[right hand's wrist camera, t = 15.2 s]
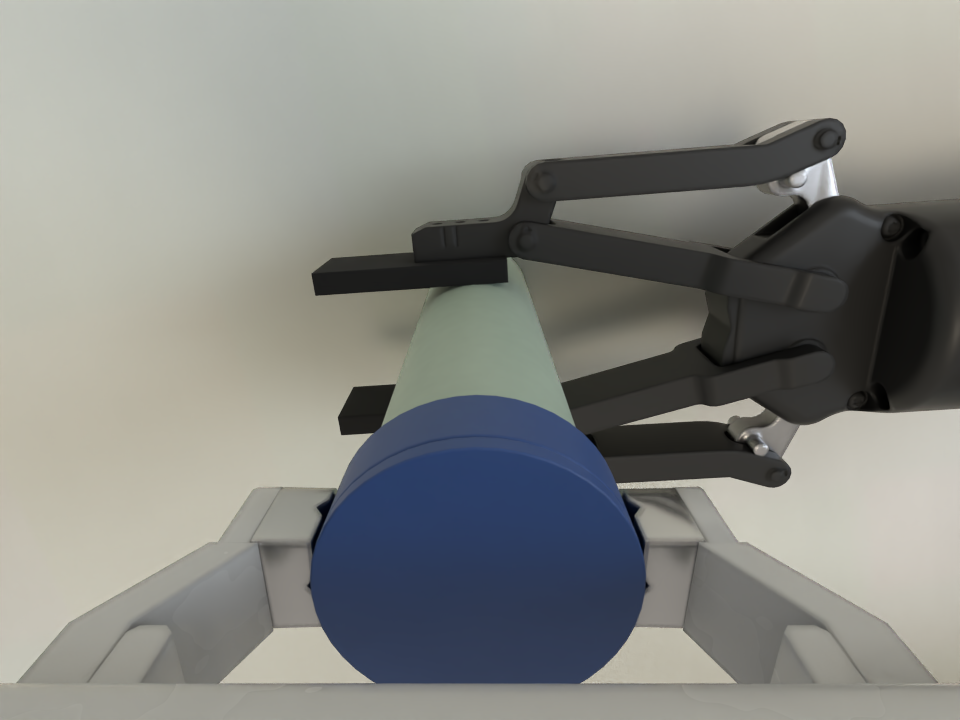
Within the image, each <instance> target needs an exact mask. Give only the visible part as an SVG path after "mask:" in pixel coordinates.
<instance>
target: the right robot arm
mask: <svg viewBox="0 0 960 720" xmlns="http://www.w3.org/2000/svg"><path fill="white" fill-rule="evenodd" d="M337 491H338V490H337V489H336V488H299V487H285V488H283V487H258V488H256V489H254V490H253V491H252V492H251V493H250V495H249V496H248V498H247V499H246V501H245V502H244V504H243V505H242V507H241V508H240V510H239V511H238V513H237V514H236V516H235V517H234V519H233V520H232V522H231V523H230V525H229V526H228V528H227V529H226V531H225V532H224V534H223V535H222V537H221V538H220V540H219V541H218V542H213V543H208V544H206V545H204V546H202V547H201V548H199V549H197V550H195V551H194V552H192V553H190V554H188V555H187V556H185V557H183V558H181V559H180V560H178V561H176V562H174V563H173V564H171V565H169V566H167V567H166V568H164V569H162V570H160V571H159V572H157V573H155V574H153V575H152V576H150V577H148V578H146V579H145V580H143V581H141V582H139V583H138V584H136V585H134V586H132V587H131V588H129V589H127V590H125V591H124V592H122V593H120V594H118V595H117V596H115V597H113V598H111V599H110V600H108V601H106V602H104V603H103V604H101V605H99V606H97V607H95V608H94V609H92V610H90V611H88V612H87V613H85V614H83V615H81V616H80V617H78V618H76V619H74V620H73V621H71V622H69V623H68V624H67V625H66V627H65V628H64V629H63V630H62V631H61V632H60V633H59V635H58V636H57V637H56V638H55V639H54V640H53V641H52V643H51V644H50V645H49V646H48V647H47V648H46V650H45V651H44V652H43V653H42V654H41V655H40V656H39V658H38V659H37V660H36V661H35V662H34V663H33V664H32V666H31V667H30V668H29V669H28V670H27V671H26V673H25V674H24V675H23V676H22V677H21V678H20V679H19V681H18V682H17V683H0V720H960V683H938V682H937V681H936V680H935V678H934V677H933V676H932V675H931V674H930V673H929V671H928V670H927V669H926V668H925V667H924V666H923V664H922V663H921V662H920V661H919V660H918V659H917V657H916V656H915V655H914V654H913V653H912V652H911V650H910V649H909V648H908V647H907V646H906V645H905V643H904V642H903V641H902V640H901V639H900V638H899V636H898V635H897V634H896V633H895V632H894V630H893V629H892V628H891V627H890V626H889V625H888V624H887V623H886V622H884V621H882V620H880V619H879V618H877V617H875V616H874V615H872V614H870V613H868V612H867V611H865V610H863V609H861V608H860V607H858V606H856V605H854V604H853V603H851V602H849V601H847V600H846V599H844V598H842V597H841V596H839V595H837V594H835V593H834V592H832V591H830V590H828V589H827V588H825V587H823V586H821V585H820V584H818V583H816V582H815V581H813V580H811V579H809V578H808V577H806V576H804V575H802V574H801V573H799V572H797V571H795V570H794V569H792V568H790V567H789V566H787V565H785V564H783V563H782V562H780V561H778V560H776V559H775V558H773V557H771V556H769V555H768V554H766V553H764V552H763V551H761V550H759V549H757V548H756V547H754V546H752V545H750V544H749V543H743V542H738V541H737V539H736V538H735V536H734V535H733V533H732V532H731V530H730V529H729V527H728V526H727V524H726V523H725V521H724V520H723V518H722V517H721V515H720V514H719V512H718V511H717V509H716V508H715V506H714V505H713V503H712V502H711V500H710V499H709V497H708V496H707V494H706V493H705V491H704V490H703V489H702V488H700V487H675V488H649V489H619V492H620V494H621V497H622V499H623V502H624V504H625V507H626V509H627V512H628V514H629V517H630V519H631V522H632V525H633V527H634V529H635V532H636V534H637V537H638V539H639V542H640V546H641V549H642V552H643V555H644V562H645V570H646V587H645V595H644V600H643V605H642V609H641V612H640V614H639V617H638V620H637V622H636V625H635V627H665V628H683V631H684V632H685V633H686V634H687V635H688V636H689V637H690V638H692V639H693V640H694V641H695V642H696V643H697V644H698V645H699V646H700V647H701V648H702V649H703V650H704V651H705V652H706V653H707V654H708V655H709V656H710V657H711V658H712V659H713V660H714V661H715V662H716V663H717V664H718V665H719V666H720V667H721V668H722V669H723V670H724V671H725V672H727V673H728V674H729V675H730V676H731V677H732V678H733V679H734V680H735V681H736V682H737V683H738V684H488V683H277V684H218V683H219V682H221V681H222V680H223V679H224V678H225V677H226V676H227V675H228V674H229V673H230V672H231V671H232V670H233V669H234V668H235V667H236V666H237V665H238V664H239V663H240V662H241V661H242V660H243V659H244V658H245V657H247V656H248V655H249V654H250V653H251V652H252V651H253V650H254V649H255V648H256V647H257V646H258V645H259V644H260V643H261V642H262V641H263V640H264V639H265V638H266V637H267V636H268V635H269V634H270V633H271V632H273V628H290V627H322V626H321V624H320V622H319V619H318V617H317V614H316V612H315V608H314V604H313V600H312V596H311V584H310V571H311V560H312V556H313V552H314V549H315V545H316V542H317V539H318V537H319V534H320V532H321V530H322V527H323V525H324V522H325V520H326V517H327V515H328V513H329V510H330V508H331V505H332V503H333V501H334V498H335V496H336V493H337Z"/></svg>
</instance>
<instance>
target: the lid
mask: <svg viewBox="0 0 960 720" xmlns="http://www.w3.org/2000/svg"><path fill="white" fill-rule="evenodd" d="M310 584H311V596H312V600H313V604H314V608H315V612H316V614H317V617H318V619H319V622H320V624H321V626H322V628H323V630H324V632H325V633H326V635H327V637H328V638H329V640H330V642H331V643H332V644H333V646H334V647H335V648H336V649H337V651H338V652H339V653H340V654H341V655H342V657H343V658H344V659H346V660H347V661H348V662H349V663H350V664H351V665H352V666H353V667H354V668H355V669H356V670H358V671H359V672H360V673H362V674H363V675H364V676H366V677H367V678H368V679H370V680H371V681H373V682H375V683H488V684H580V683H581V682H583V681H585V680H586V679H588V678H590V677H591V676H592V675H593V674H595V673H596V672H597V671H599V670H600V669H601V668H602V667H604V666H605V665H606V664H607V663H608V662H609V661H610V660H611V659H612V658H613V657H614V656H615V655H616V654H617V652H618V651H619V650H620V648H621V647H622V646H623V645H624V643H625V642H626V641H627V639H628V637H629V636H630V634H631V632H632V630H633V629H634V627H635V625H636V622H637V620H638V617H639V614H640V612H641V609H642V605H643V600H644V595H645V587H646V570H645V562H644V555H643V552H642V549H641V546H640V542H639V539H638V537H637V534H636V532H635V529H634V527H633V525H632V522H631V519H630V517H629V514H628V512H627V509H626V507H625V504H624V502H623V499H622V497H621V494H620V492H619V490H618V487H617V485H616V482H615V480H614V477H613V475H612V473H611V471H610V469H609V467H608V465H607V463H606V461H605V459H604V458H603V456H602V455H601V453H600V452H599V451H598V449H597V448H596V446H595V445H594V444H593V443H592V442H591V441H590V440H589V439H588V438H587V437H586V436H585V435H584V434H583V433H582V432H581V431H580V430H578V429H577V428H576V427H575V426H573V425H572V424H571V423H570V422H568V421H566V420H565V419H563V418H561V417H560V416H558V415H556V414H555V413H553V412H551V411H548V410H546V409H544V408H541V407H539V406H537V405H534V404H531V403H527V402H524V401H521V400H517V399H513V398H507V397H501V396H491V395H466V396H455V397H450V398H444V399H439V400H435V401H432V402H429V403H426V404H423V405H420V406H417V407H415V408H413V409H410V410H408V411H406V412H404V413H402V414H400V415H398V416H397V417H395V418H394V419H392V420H390V421H389V422H387V423H386V424H384V425H383V426H382V427H381V428H379V429H378V430H377V431H376V432H375V433H374V434H372V435H371V436H370V437H369V438H368V439H367V440H366V442H365V443H364V444H363V445H362V446H361V447H360V448H359V450H358V451H357V453H356V454H355V456H354V457H353V459H352V460H351V462H350V463H349V466H348V468H347V470H346V472H345V474H344V477H343V479H342V481H341V484H340V486H339V488H338V491H337V493H336V496H335V498H334V501H333V503H332V505H331V508H330V510H329V513H328V515H327V517H326V520H325V522H324V525H323V527H322V530H321V532H320V534H319V537H318V539H317V542H316V545H315V549H314V552H313V556H312V560H311V571H310Z"/></svg>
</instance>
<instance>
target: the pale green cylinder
mask: <svg viewBox="0 0 960 720" xmlns="http://www.w3.org/2000/svg"><path fill="white" fill-rule="evenodd" d="M507 266H508V283H493V284H479V285H464V286H450V287H435V288H430V289H429V292H428V295H427V297H426V300H425V303H424V306H423V309H422V312H421V315H420V317H419V320H418V323H417V326H416V329H415V332H414V335H413V337H412V340H411V343H410V346H409V349H408V352H407V355H406V358H405V360H404V363H403V366H402V369H401V372H400V375H399V378H398V380H397V383H396V386H395V389H394V392H393V395H392V398H391V401H390V403H389V406H388V409H387V412H386V415H385V418H384V421H383V423H382V426H383V425H384V424H386V423H387V422H389V421H390V420H392V419H394V418H395V417H397V416H398V415H400V414H402V413H404V412H406V411H408V410H410V409H413V408H415V407H417V406H420V405H423V404H426V403H429V402H432V401H435V400H439V399H444V398H450V397H455V396H466V395H491V396H501V397H507V398H513V399H517V400H521V401H524V402H527V403H531V404H534V405H537V406H539V407H541V408H544V409H546V410H548V411H551V412H553V413H555V414H556V415H558V416H560V417H561V418H563V419H565V420H566V421H568V422H570V423H571V424H572V425H573V426H575V424H574V421H573V418H572V415H571V412H570V409H569V406H568V403H567V401H566V398H565V395H564V392H563V389H562V386H561V383H560V380H559V377H558V374H557V371H556V369H555V366H554V363H553V360H552V357H551V354H550V351H549V348H548V345H547V342H546V340H545V337H544V334H543V331H542V328H541V325H540V322H539V319H538V316H537V313H536V310H535V308H534V305H533V302H532V299H531V296H530V293H529V290H528V287H527V284H526V281H525V278H524V276H523V273H522V271H521V269H520V268H519V266H518V265H517V263H516V262H515V261H514V260H513V259H512V258H511V257H510V258H507ZM382 426H381V427H382Z"/></svg>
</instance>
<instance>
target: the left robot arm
mask: <svg viewBox="0 0 960 720" xmlns="http://www.w3.org/2000/svg"><path fill="white" fill-rule="evenodd" d="M845 139H846V130H845V128H844V125H843V124H842V123H841V122H840V121H839V120H837V119H832V118H825V119H813V120H800V121H788V122H784V123H781V124H778V125H776V126H774V127H772V128H769V129H767V130H765V131H763V132H761V133H758V134H756V135H754V136H752V137H749V138H747V139H745V140H743V141H741V142H738V143H736V144H734V145H722V146H710V147H697V148H684V149H672V150H659V151H647V152H634V153H621V154H609V155H596V156H583V157H571V158H558V159H546V160H536V161H533V162H530V163H529V164H528V165H526V166H525V168H524V169H523V171H522V175H521V181H520V184H519V188H518V191H517V194H516V198H515V201H514V203H513V205H512V207H511V208H510V210H509V211H507V212H506V213H505V214H503V215H501V216H498V217H491V218H477V219H463V220H449V221H435V222H428V223H426V224H424V225H422V226H420V227H418V228H416V229H415V231H414V232H413V233H412V243H413V253H399V254H385V255H370V256H356V257H342V258H331V259H330V260H329V261H328V262H326V263H325V264H324V265H322V266H321V267H320V268H318V269H317V270H316V271H314V272H313V273H312V279H313V285H314V290H315V296H318V295H333V294H347V293H362V292H376V291H391V290H406V289H420V288H435V287H450V286H464V285H479V284H493V283H508V266H507V258H510V257H519V258H522V259H526V260H532V261H538V262H544V263H550V264H556V265H561V266H567V267H573V268H579V269H585V270H591V271H597V272H603V273H609V274H615V275H621V276H627V277H633V278H639V279H645V280H651V281H657V282H663V283H669V284H675V285H681V286H687V287H693V288H699V289H703V290H706V291H705V294H706V299H707V304H708V310H709V315H708V318H707V320H706V323H705V326H704V329H703V331H702V338H699V339H696V340H692V341H689V342H685V343H682V344H679V345H678V346H676V347H675V348H674V350H673V351H672V352H669V353H666V354H662V355H659V356H655V357H652V358H648V359H645V360H641V361H638V362H634V363H630V364H627V365H623V366H620V367H616V368H613V369H609V370H606V371H602V372H599V373H595V374H592V375H588V376H585V377H581V378H578V379H574V380H571V381H567V382H564V383H561V386H562V389H563V392H564V395H565V398H566V401H567V403H568V406H569V409H570V412H571V415H572V418H573V421H574V424H575V427H576V428H577V429H578V430H580V431H581V432H582V433H583V434H584V435H585V436H586V437H587V438H588V439H589V440H590V441H591V442H592V443H593V444H594V445H595V446H596V448H597V449H598V451H599V452H600V453H601V455H602V456H603V458H604V459H605V461H606V463H607V465H608V467H609V469H610V471H611V473H612V475H613V477H614V480H615V482H616V483H630V482H649V481H667V480H685V479H703V478H721V477H731V478H735V479H739V480H743V481H747V482H750V483H754V484H758V485H762V486H766V487H772V488H775V487H779V486H781V485H783V484H784V483H786V482H787V481H788V479H789V478H790V475H791V468H790V467H789V465H788V464H787V463H786V462H785V461H784V460H783V459H782V456H783V454H784V452H785V450H786V449H787V447H788V445H789V443H790V442H791V440H792V438H793V436H794V435H795V433H796V431H797V429H798V428H799V426H800V425H809V424H814V423H817V422H819V421H821V420H823V419H825V418H827V417H829V416H831V415H833V414H836V413H839V412H843V411H867V412H880V413H898V412H914V411H929V410H945V409H960V199H950V200H936V201H922V202H908V203H894V204H880V205H864V204H862V203H860V202H859V201H857V200H856V199H853V198H851V197H848V196H839V193H838V189H837V184H836V179H835V174H834V169H833V164H832V159H831V157H833V156H834V155H836V154H837V153H838V152H839V151H840V150H841V148H842V147H843V145H844V142H845ZM753 185H756V186H757V188H758V189H759V190H760V191H761V192H763V193H765V194H771V195H777V196H790V197H791V198H792V199H793V201H794V204H793V205H791V206H790V207H789V208H787V209H786V210H785V211H783V212H782V213H780V214H779V215H778V216H776V217H775V218H774V219H772V220H771V221H770V222H768V223H767V224H766V225H764V226H763V227H762V228H760V229H759V230H757V231H756V232H755V233H753V234H752V235H751V236H749V237H748V238H747V239H745V240H744V241H743V242H741V243H740V244H738V245H737V246H736V247H734V248H727V247H721V246H715V245H710V244H704V243H698V242H685V241H679V240H673V239H667V238H661V237H655V236H650V235H644V234H638V233H632V232H626V231H620V230H615V229H609V228H603V227H597V226H591V225H586V224H580V223H574V222H568V221H562V220H556V219H551V216H552V213H553V210H554V207H555V204H556V201H564V200H577V199H590V198H603V197H615V196H628V195H641V194H654V193H667V192H680V191H693V190H706V189H719V188H732V187H745V186H753ZM395 386H396V384H393V385H378V386H362V387H353V389H352V391H351V393H350V395H349V397H348V399H347V401H346V403H345V405H344V406H343V408H342V410H341V412H340V414H339V416H338V420H339V426H340V431H341V435H352V434H368V433H375V432H376V431H377V430H378V429H379V428H381V426H382V423H383V421H384V418H385V415H386V412H387V409H388V406H389V403H390V401H391V398H392V395H393V392H394V389H395ZM747 398H750V399H752V400H753V401H755V402H757V403H758V404H760V405H761V406H763V407H764V408H766V409H765V410H764V411H763V412H762V413H761V414H759V415H757V416H754V417H741V418H740V417H739V416H733V417H731V418H730V419H729V420H728V424H723V423H719V422H710V421H693V422H676V423H659V424H641V425H624V426H620V425H623V424H627V423H631V422H634V421H638V420H642V419H645V418H649V417H653V416H656V415H660V414H664V413H667V412H671V411H675V410H678V409H682V408H686V407H689V406H693V405H697V404H703V405H708V406H720V405H725V404H728V403H732V402H736V401H739V400H743V399H747Z"/></svg>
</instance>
